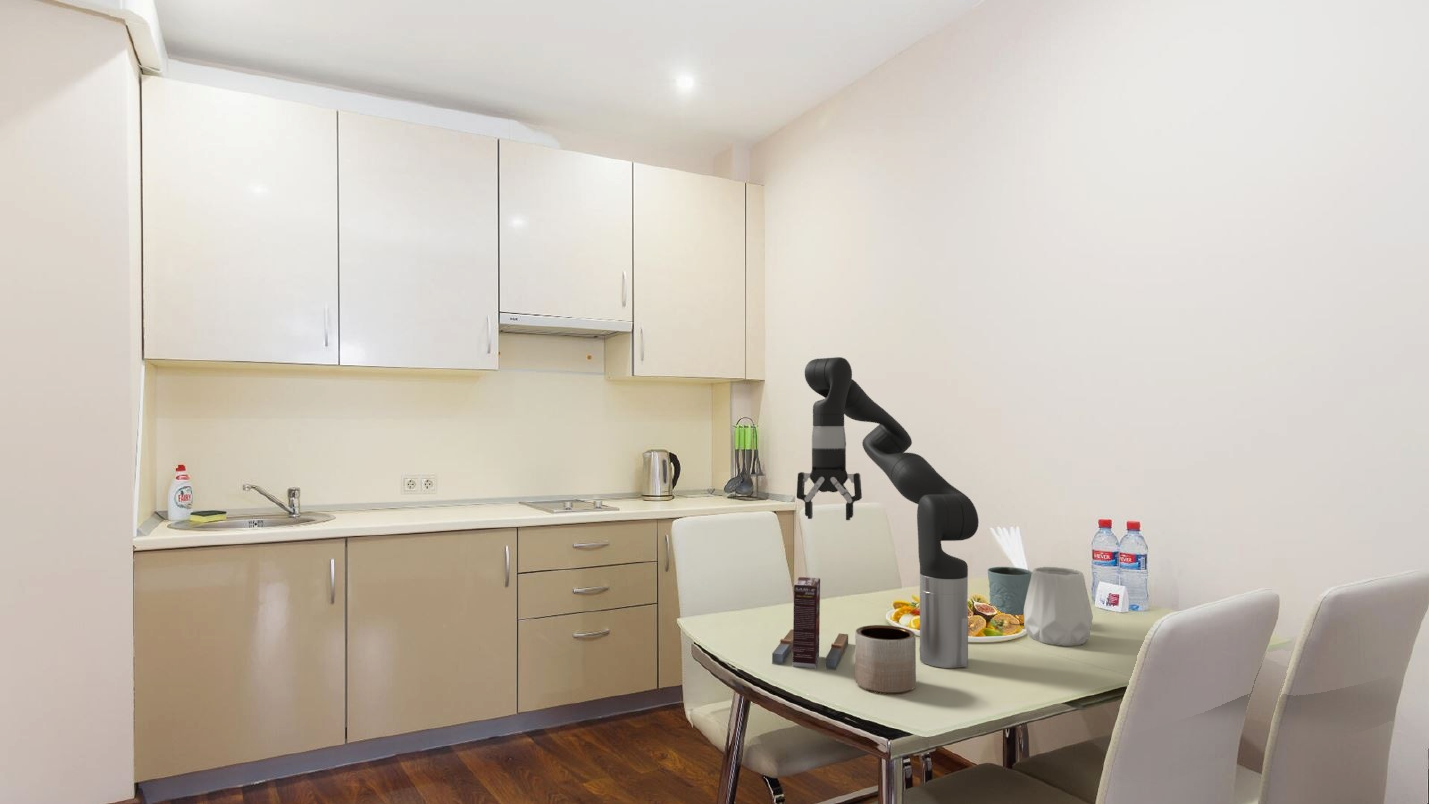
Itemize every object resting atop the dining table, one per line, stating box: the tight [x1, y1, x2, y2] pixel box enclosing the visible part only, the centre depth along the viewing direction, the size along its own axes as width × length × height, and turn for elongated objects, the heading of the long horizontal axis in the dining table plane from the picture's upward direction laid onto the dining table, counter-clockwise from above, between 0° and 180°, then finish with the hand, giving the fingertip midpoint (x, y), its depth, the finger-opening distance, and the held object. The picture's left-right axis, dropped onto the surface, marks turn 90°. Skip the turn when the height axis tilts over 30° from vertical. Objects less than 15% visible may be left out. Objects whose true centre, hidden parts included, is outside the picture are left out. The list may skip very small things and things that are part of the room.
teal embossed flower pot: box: [987, 566, 1032, 615], centre depth 193 cm, size 10×10×12 cm
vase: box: [1023, 566, 1094, 647], centre depth 176 cm, size 14×14×15 cm
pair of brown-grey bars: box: [771, 628, 849, 671], centre depth 164 cm, size 12×19×3 cm, turn 163°
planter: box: [854, 624, 917, 695], centre depth 145 cm, size 11×11×10 cm
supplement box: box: [791, 576, 821, 669], centre depth 159 cm, size 9×5×16 cm, turn 168°
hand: (829, 519), depth 178 cm, fingers open, 8 cm apart
